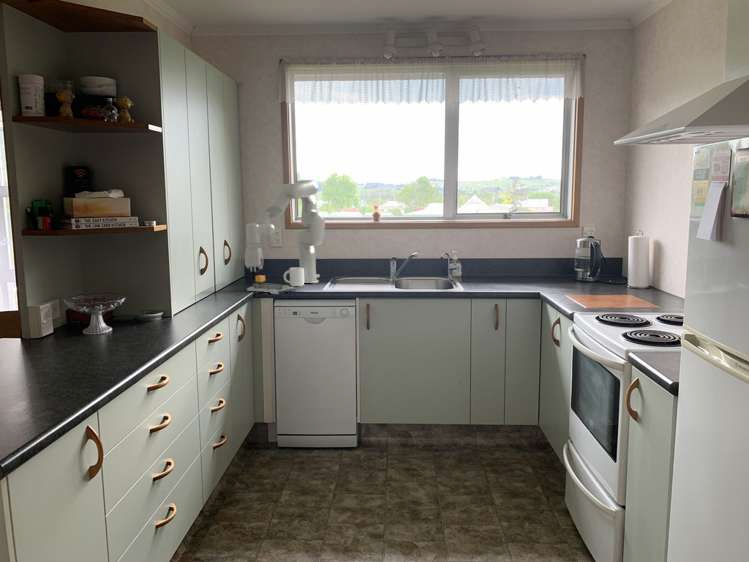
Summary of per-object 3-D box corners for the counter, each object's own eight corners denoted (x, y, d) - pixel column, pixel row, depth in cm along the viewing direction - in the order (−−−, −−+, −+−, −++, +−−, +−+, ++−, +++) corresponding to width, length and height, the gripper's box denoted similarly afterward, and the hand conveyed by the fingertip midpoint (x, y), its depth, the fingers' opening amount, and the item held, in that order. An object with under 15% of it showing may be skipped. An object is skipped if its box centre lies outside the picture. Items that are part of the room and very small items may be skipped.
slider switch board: (263, 287, 341) (263, 281, 341) (294, 290, 331) (293, 284, 331) (247, 291, 329) (247, 285, 328) (278, 294, 319) (278, 287, 318)
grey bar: (294, 290, 331) (294, 288, 330) (296, 290, 330) (296, 288, 330) (279, 294, 319) (279, 291, 319) (281, 294, 318) (281, 291, 318)
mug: (282, 287, 344) (281, 269, 342) (285, 284, 352) (285, 267, 350) (302, 287, 342) (302, 269, 341) (306, 284, 350) (305, 267, 349)
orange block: (260, 285, 336) (260, 275, 335) (265, 285, 334) (265, 275, 333) (255, 286, 332) (255, 276, 331) (260, 286, 330) (260, 276, 330)
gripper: (238, 246, 332) (240, 279, 335) (259, 247, 325) (261, 280, 327) (247, 244, 338) (249, 277, 341) (268, 245, 331) (270, 278, 334)
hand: (255, 278), depth 334 cm, fingers closed
